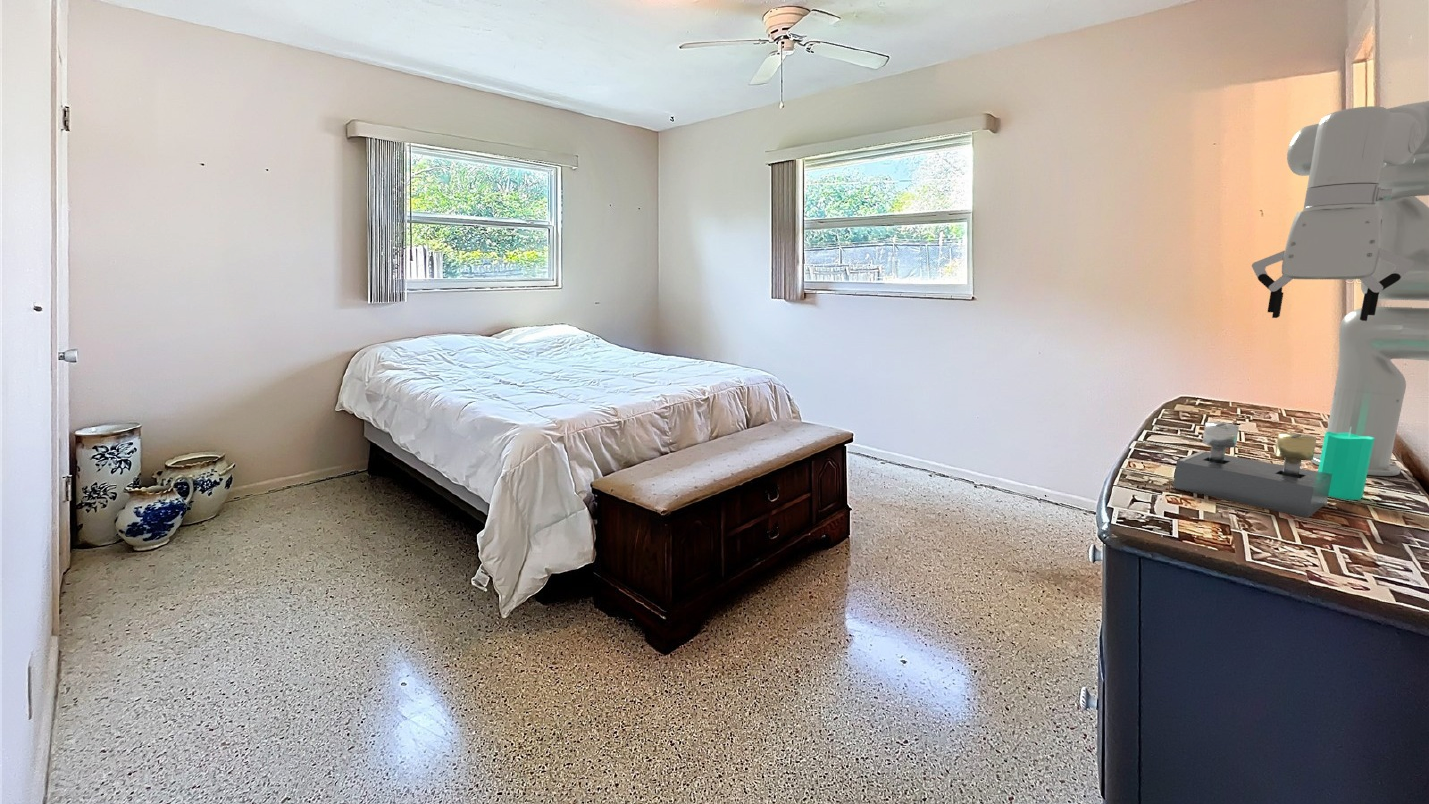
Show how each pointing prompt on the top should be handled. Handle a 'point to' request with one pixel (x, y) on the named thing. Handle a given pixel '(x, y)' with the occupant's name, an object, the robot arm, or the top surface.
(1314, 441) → the knob
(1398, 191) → the robot arm
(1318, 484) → the mount
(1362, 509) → the top surface
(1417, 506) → the top surface
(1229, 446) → the knob
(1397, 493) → the top surface
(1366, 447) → the candle
